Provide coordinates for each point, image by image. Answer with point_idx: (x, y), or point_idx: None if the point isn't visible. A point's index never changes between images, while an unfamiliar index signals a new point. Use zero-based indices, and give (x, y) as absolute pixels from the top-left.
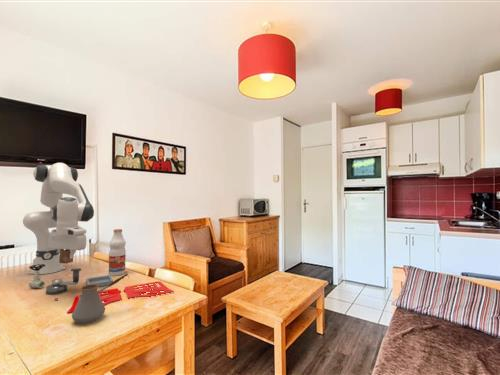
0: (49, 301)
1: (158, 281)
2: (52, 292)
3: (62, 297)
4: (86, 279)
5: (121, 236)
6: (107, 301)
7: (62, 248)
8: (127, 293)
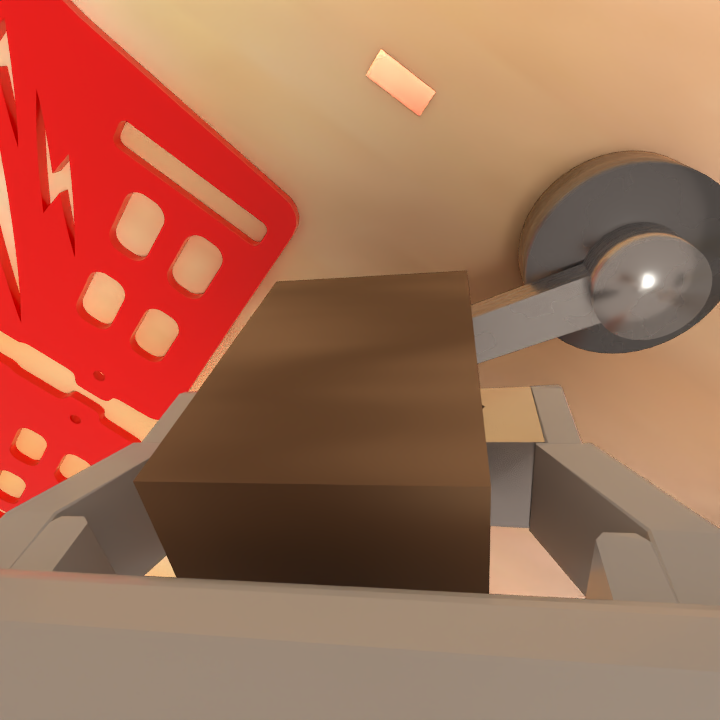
0: (429, 20)
1: None
2: (582, 171)
3: (404, 153)
4: None
5: None
6: None
7: (345, 604)
8: (1, 368)
